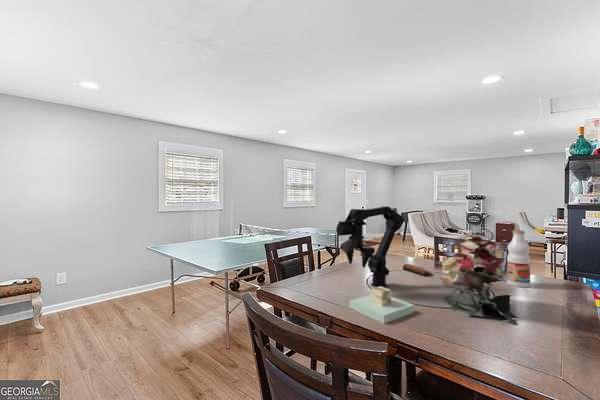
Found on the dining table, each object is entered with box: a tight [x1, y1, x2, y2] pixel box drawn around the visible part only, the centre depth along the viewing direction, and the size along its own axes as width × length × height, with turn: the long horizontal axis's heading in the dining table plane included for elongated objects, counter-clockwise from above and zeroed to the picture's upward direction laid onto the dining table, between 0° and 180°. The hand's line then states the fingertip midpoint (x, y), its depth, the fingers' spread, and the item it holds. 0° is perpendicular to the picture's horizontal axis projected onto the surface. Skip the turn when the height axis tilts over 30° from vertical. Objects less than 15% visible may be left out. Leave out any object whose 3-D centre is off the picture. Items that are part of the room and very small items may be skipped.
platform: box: [349, 294, 415, 324], centre depth 117 cm, size 18×18×3 cm
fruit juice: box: [506, 229, 531, 289], centre depth 147 cm, size 9×9×28 cm
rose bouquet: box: [439, 235, 518, 326], centre depth 118 cm, size 26×29×30 cm
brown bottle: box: [402, 263, 434, 277], centre depth 173 cm, size 18×7×7 cm
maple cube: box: [370, 286, 392, 306], centre depth 117 cm, size 6×6×6 cm
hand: (356, 265), depth 142 cm, fingers open, 9 cm apart
